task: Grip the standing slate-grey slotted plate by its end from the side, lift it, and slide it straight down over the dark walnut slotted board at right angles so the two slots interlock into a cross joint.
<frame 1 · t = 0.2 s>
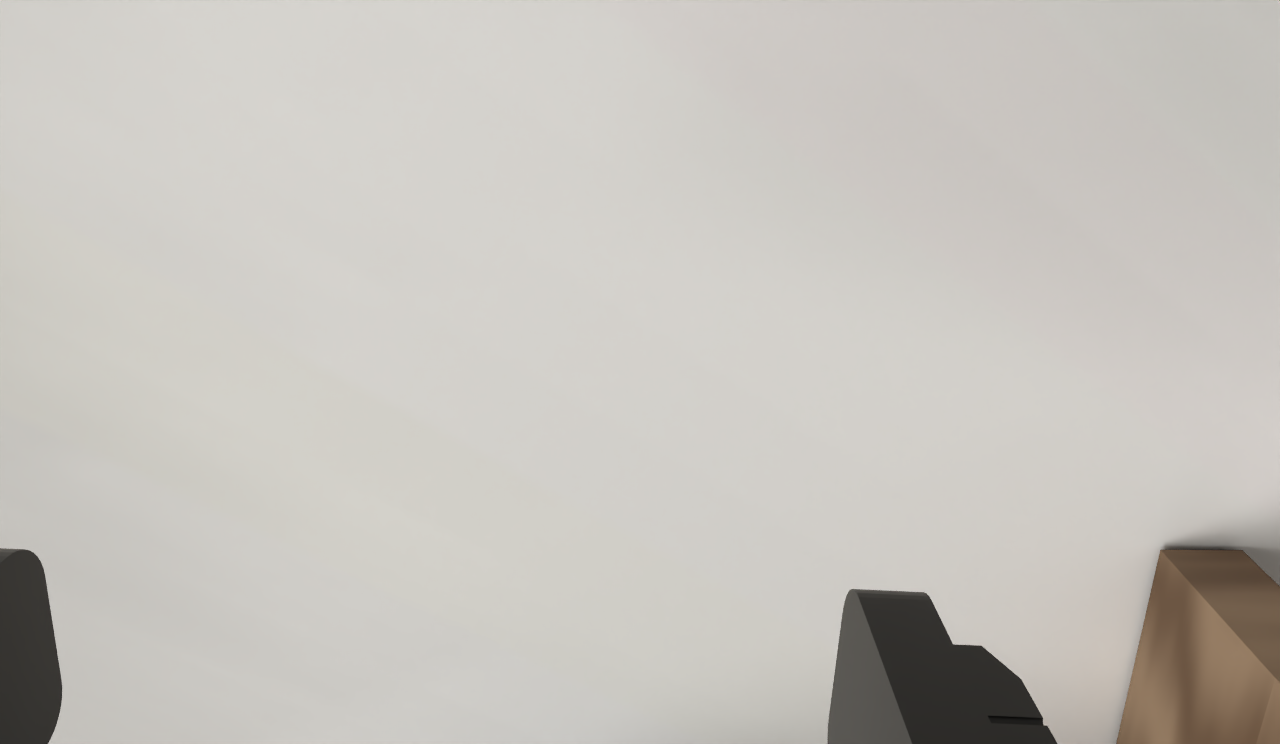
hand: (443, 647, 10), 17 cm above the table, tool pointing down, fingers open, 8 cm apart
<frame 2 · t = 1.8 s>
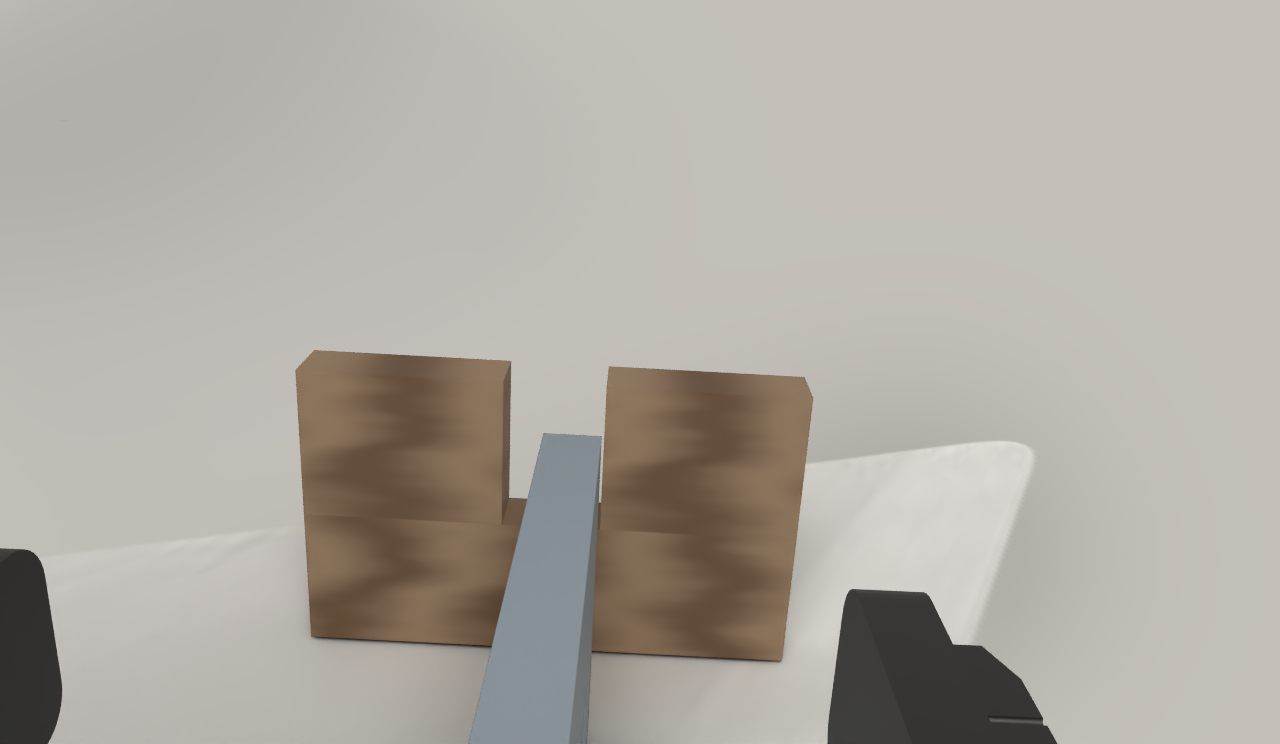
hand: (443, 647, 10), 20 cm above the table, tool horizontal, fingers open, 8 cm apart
walnut board: (549, 632, 45), on the table
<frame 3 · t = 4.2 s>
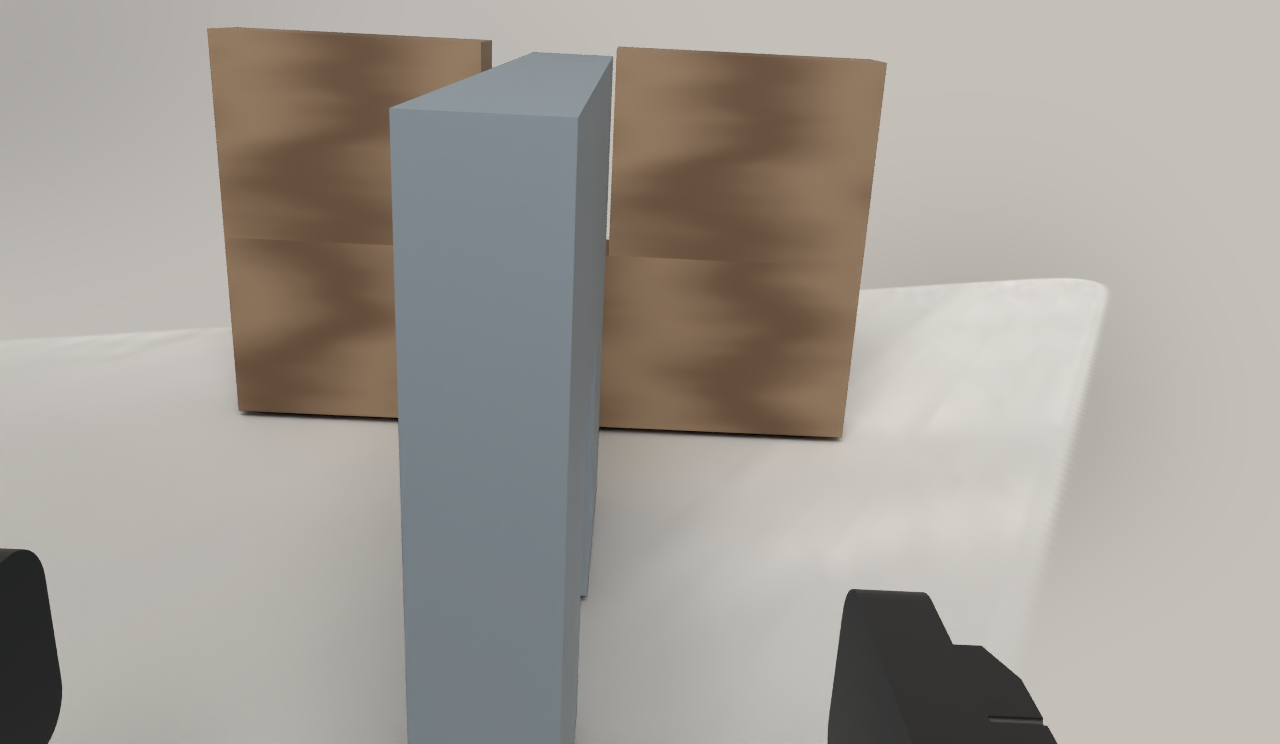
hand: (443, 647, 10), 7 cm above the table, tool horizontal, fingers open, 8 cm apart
slate plate: (535, 647, 23), on the table
walnut board: (544, 410, 36), on the table
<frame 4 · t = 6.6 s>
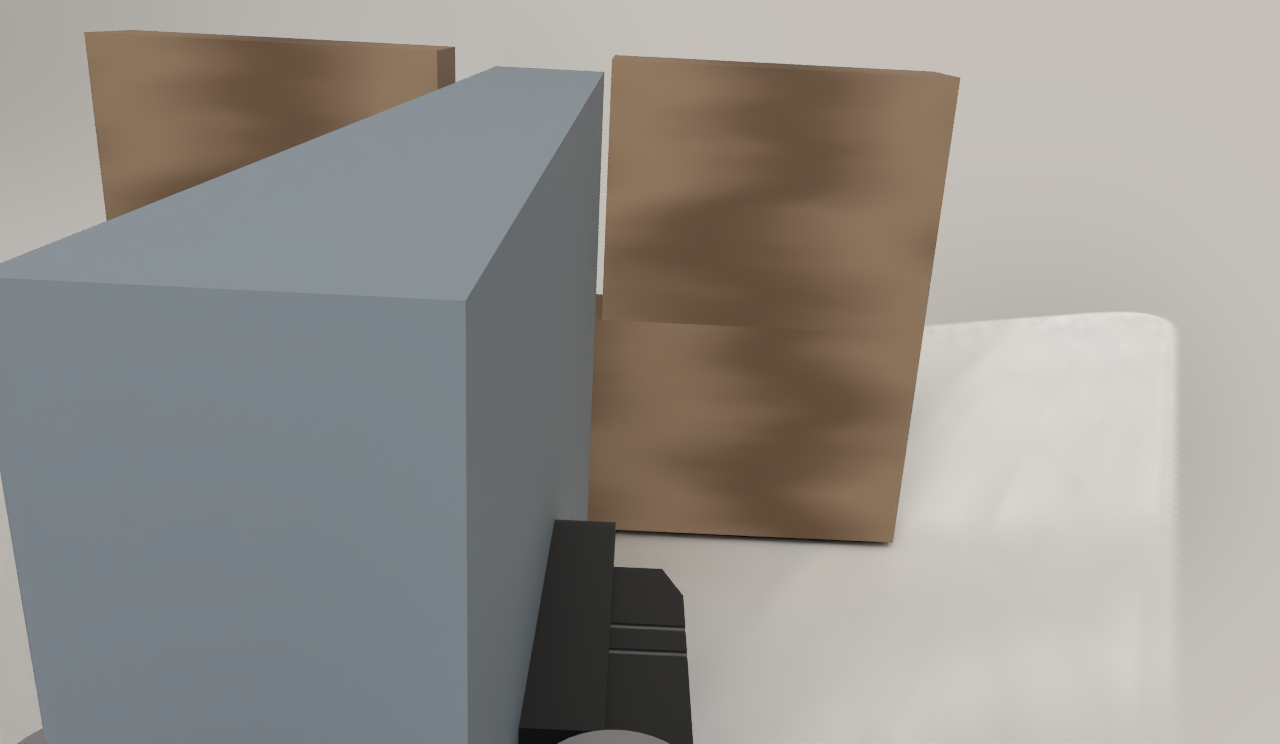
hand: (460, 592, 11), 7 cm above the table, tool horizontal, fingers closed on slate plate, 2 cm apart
walnut board: (523, 504, 29), on the table
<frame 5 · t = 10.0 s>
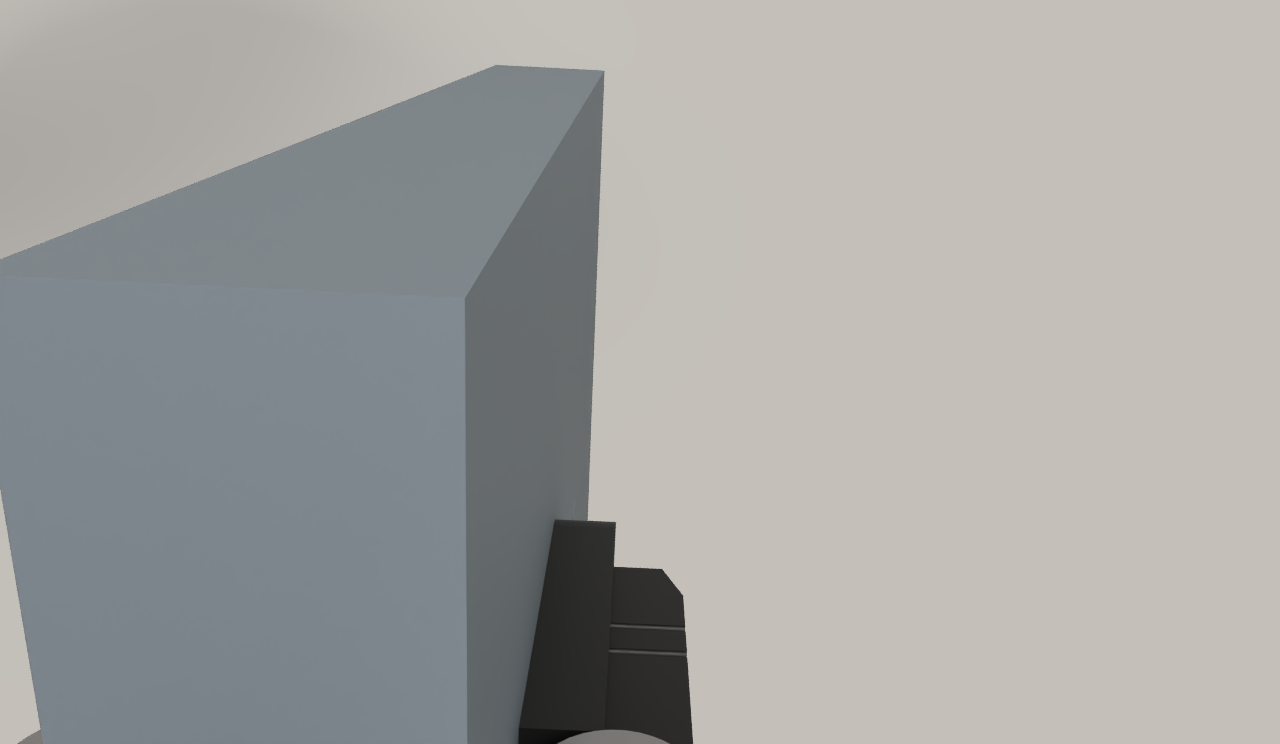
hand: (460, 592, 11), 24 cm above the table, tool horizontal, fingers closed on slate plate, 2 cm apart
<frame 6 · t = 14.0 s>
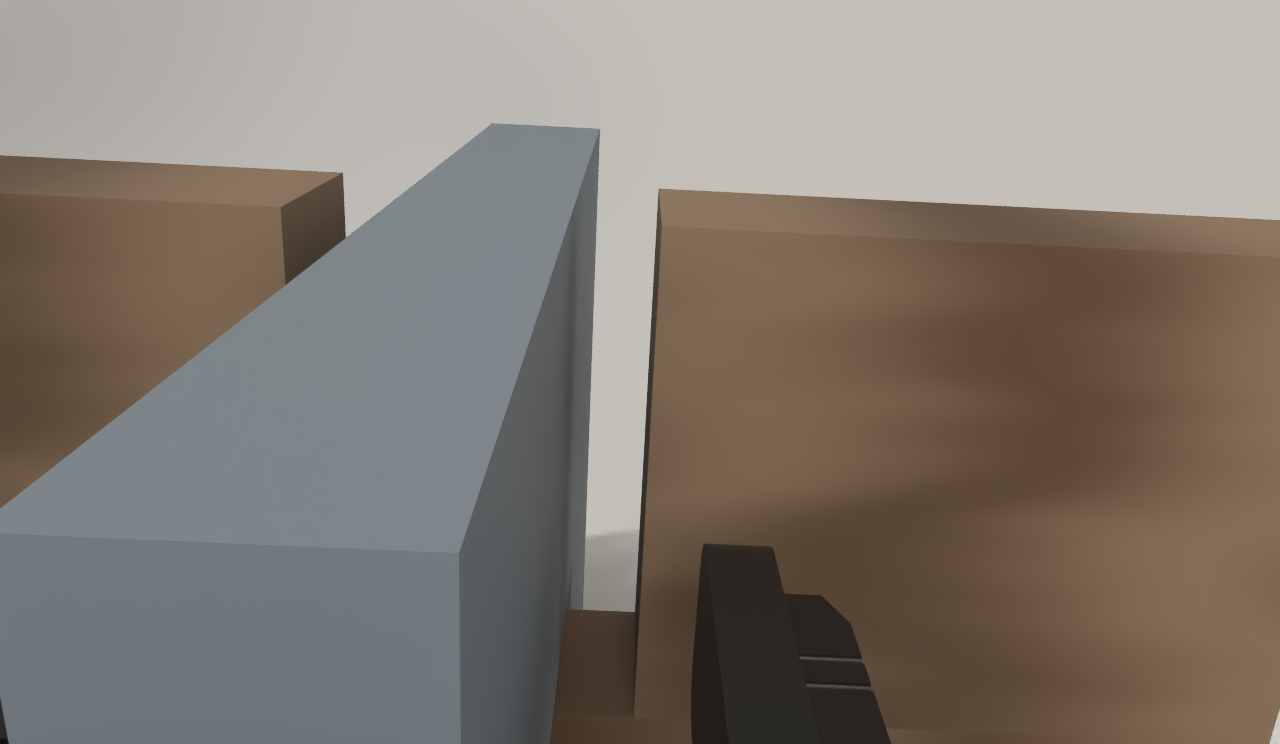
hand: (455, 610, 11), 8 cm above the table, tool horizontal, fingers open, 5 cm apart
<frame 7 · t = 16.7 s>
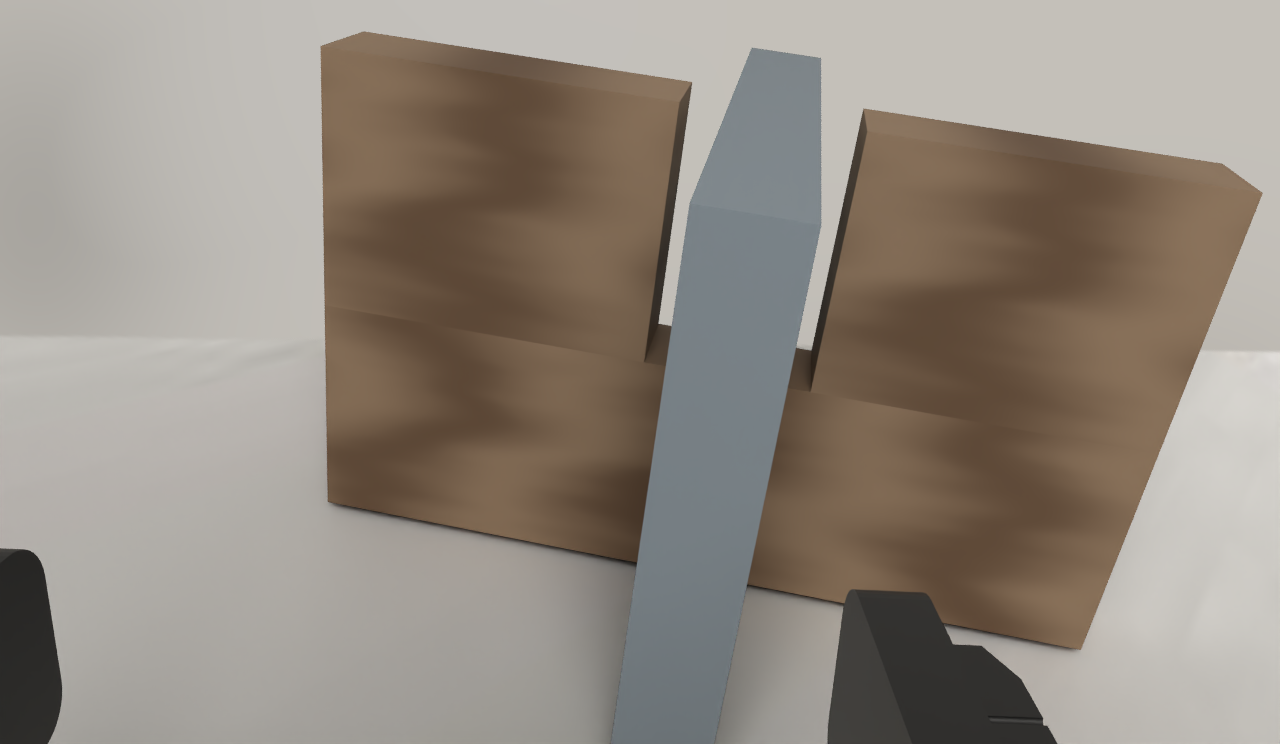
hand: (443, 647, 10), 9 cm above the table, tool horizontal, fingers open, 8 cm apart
slate plate: (697, 552, 28), on the table
walnut board: (696, 547, 28), on the table
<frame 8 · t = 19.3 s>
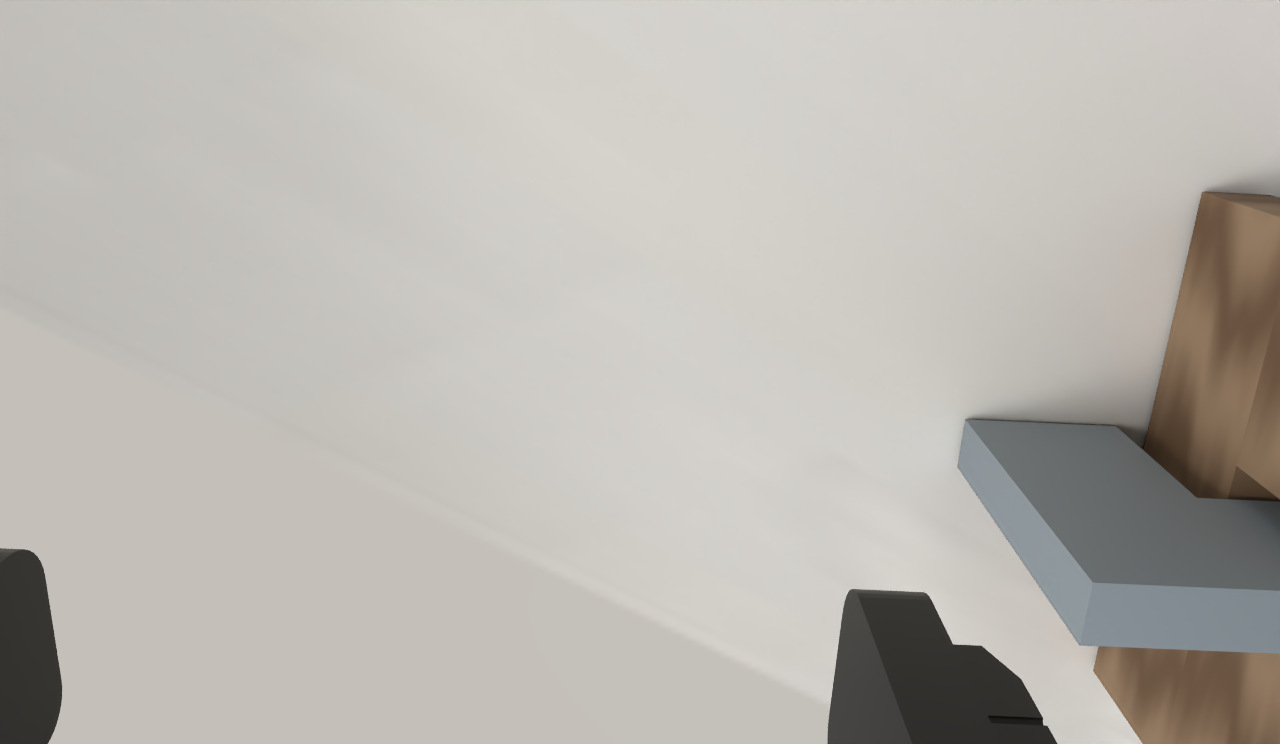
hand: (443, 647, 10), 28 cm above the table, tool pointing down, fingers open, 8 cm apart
slate plate: (1167, 452, 40), on the table
walnut board: (1174, 452, 40), on the table
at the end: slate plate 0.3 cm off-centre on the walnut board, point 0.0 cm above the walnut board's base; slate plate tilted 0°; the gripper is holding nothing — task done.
